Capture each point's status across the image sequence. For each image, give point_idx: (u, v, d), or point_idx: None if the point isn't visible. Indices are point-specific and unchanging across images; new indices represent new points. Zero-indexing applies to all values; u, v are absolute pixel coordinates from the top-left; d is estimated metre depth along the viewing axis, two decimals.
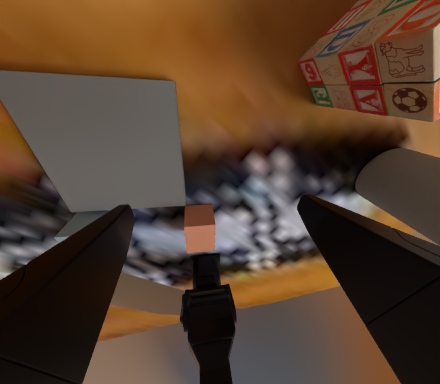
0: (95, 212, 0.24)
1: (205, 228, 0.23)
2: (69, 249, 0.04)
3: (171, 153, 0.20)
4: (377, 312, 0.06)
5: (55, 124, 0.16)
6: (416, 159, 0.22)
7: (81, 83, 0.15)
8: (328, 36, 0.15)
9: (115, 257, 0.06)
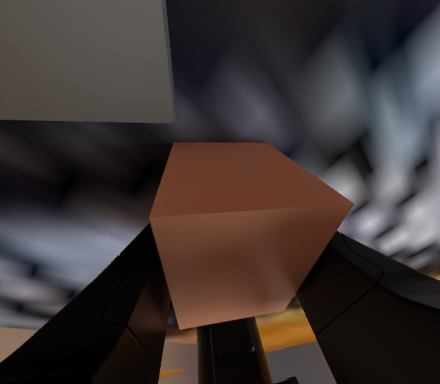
0: None
1: (289, 225, 0.04)
2: (150, 242, 0.05)
3: None
4: (323, 323, 0.05)
5: None
6: None
7: None
8: None
9: None
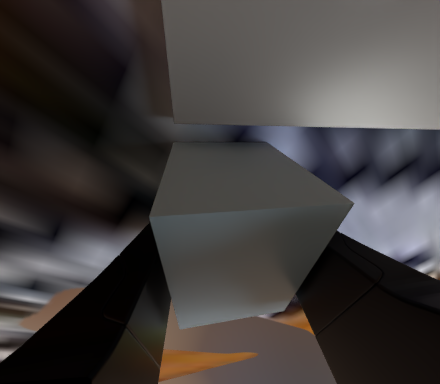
0: (231, 145, 0.07)
1: None
2: (150, 242, 0.05)
3: None
4: (323, 323, 0.05)
5: None
6: None
7: None
8: None
9: None
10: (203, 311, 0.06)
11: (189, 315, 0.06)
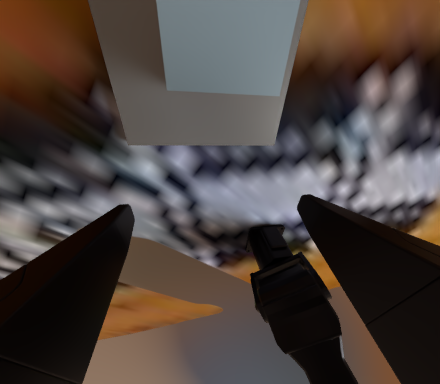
0: None
1: None
2: (69, 249, 0.04)
3: None
4: (377, 312, 0.06)
5: None
6: None
7: None
8: None
9: (115, 257, 0.06)
10: (190, 45, 0.05)
11: (175, 47, 0.05)
